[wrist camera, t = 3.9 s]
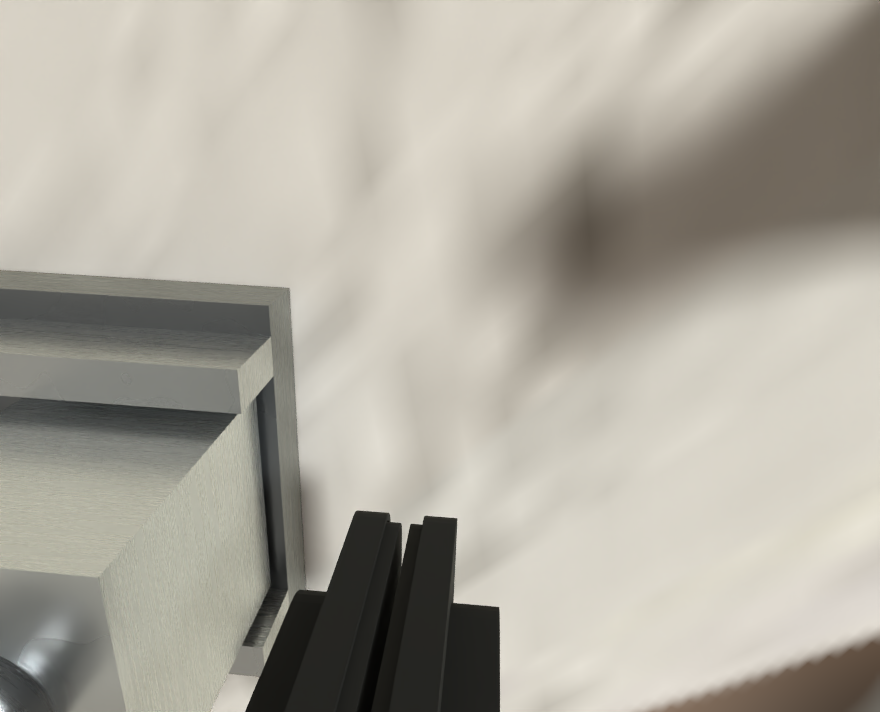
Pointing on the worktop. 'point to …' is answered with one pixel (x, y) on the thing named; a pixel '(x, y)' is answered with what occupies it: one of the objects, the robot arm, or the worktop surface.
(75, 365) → the base
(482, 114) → the worktop surface
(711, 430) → the worktop surface
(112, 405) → the knobbed grey cube
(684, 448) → the worktop surface
